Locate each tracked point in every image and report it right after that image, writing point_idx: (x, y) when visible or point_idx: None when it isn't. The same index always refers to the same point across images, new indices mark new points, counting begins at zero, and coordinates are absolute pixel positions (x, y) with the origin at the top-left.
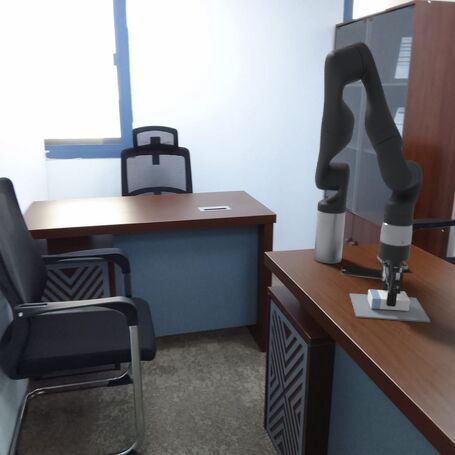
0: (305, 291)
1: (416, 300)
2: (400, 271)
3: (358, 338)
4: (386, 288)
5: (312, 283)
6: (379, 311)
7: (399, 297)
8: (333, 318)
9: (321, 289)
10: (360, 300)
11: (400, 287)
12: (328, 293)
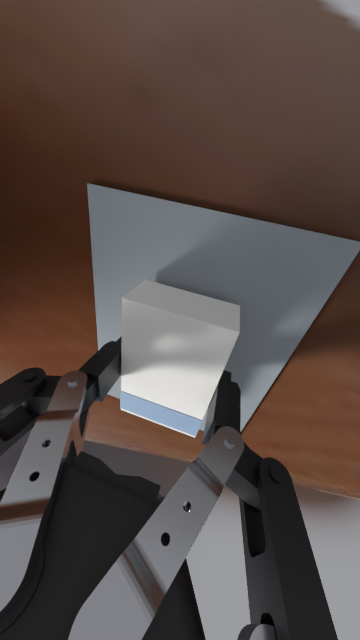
0: (104, 443)
1: (116, 196)
2: (149, 621)
3: (350, 488)
4: (114, 371)
5: None
6: None
7: (192, 356)
8: None
9: (88, 419)
10: None
11: (304, 538)
12: (105, 419)
